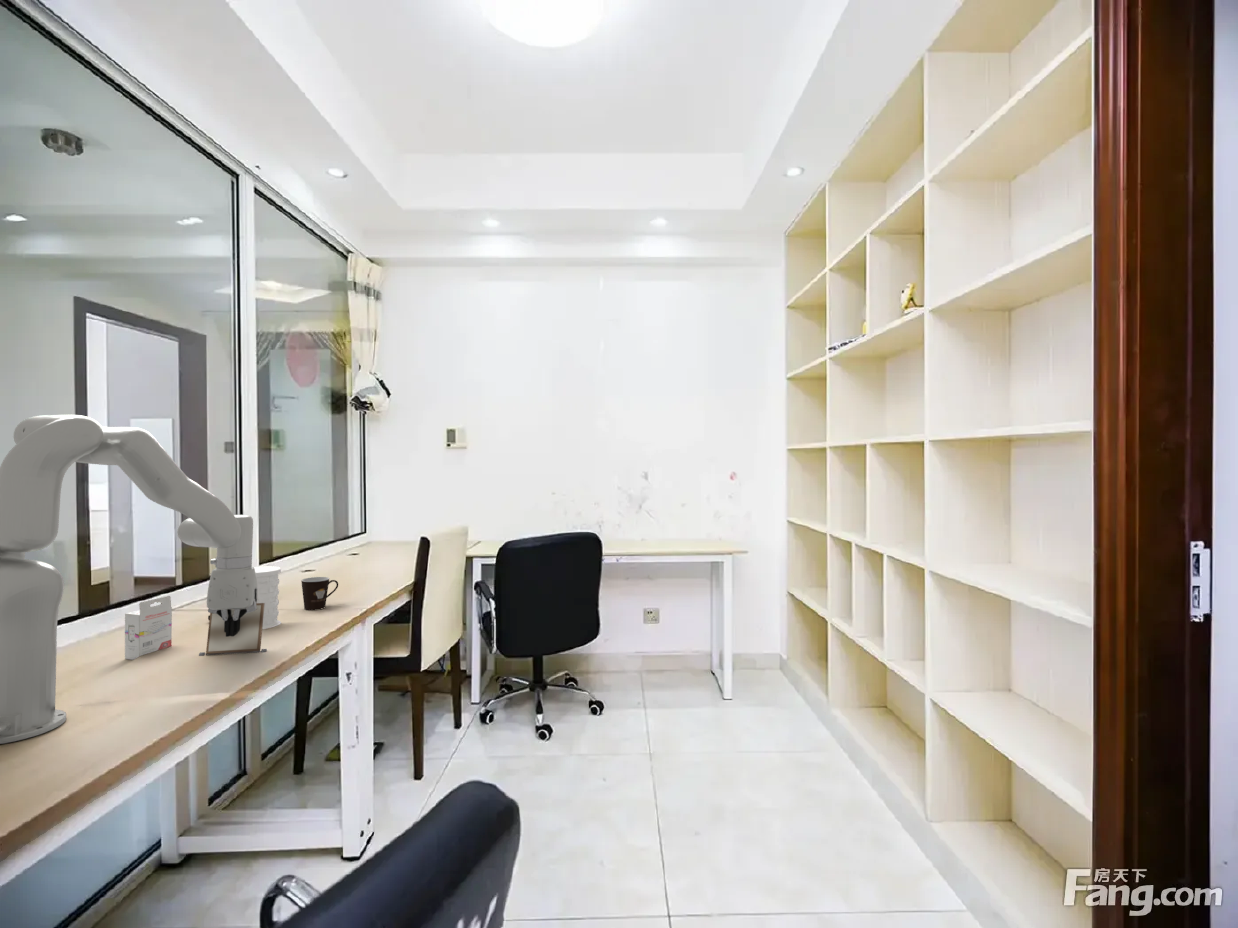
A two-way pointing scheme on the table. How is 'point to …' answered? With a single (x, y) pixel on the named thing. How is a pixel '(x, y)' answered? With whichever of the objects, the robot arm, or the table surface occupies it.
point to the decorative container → (268, 594)
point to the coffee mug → (316, 592)
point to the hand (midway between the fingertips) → (231, 634)
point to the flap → (241, 642)
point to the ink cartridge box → (148, 628)
